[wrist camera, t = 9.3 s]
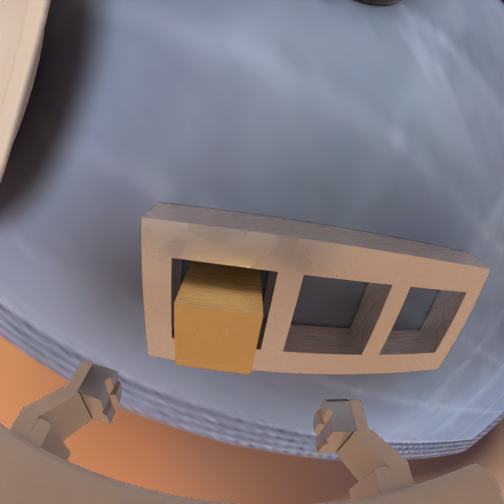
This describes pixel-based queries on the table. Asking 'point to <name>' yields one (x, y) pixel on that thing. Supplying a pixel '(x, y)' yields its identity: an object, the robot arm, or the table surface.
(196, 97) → the table surface
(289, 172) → the table surface
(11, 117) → the soup bowl
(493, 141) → the table surface
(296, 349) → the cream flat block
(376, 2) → the supplement bottle
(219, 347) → the golden yellow block
